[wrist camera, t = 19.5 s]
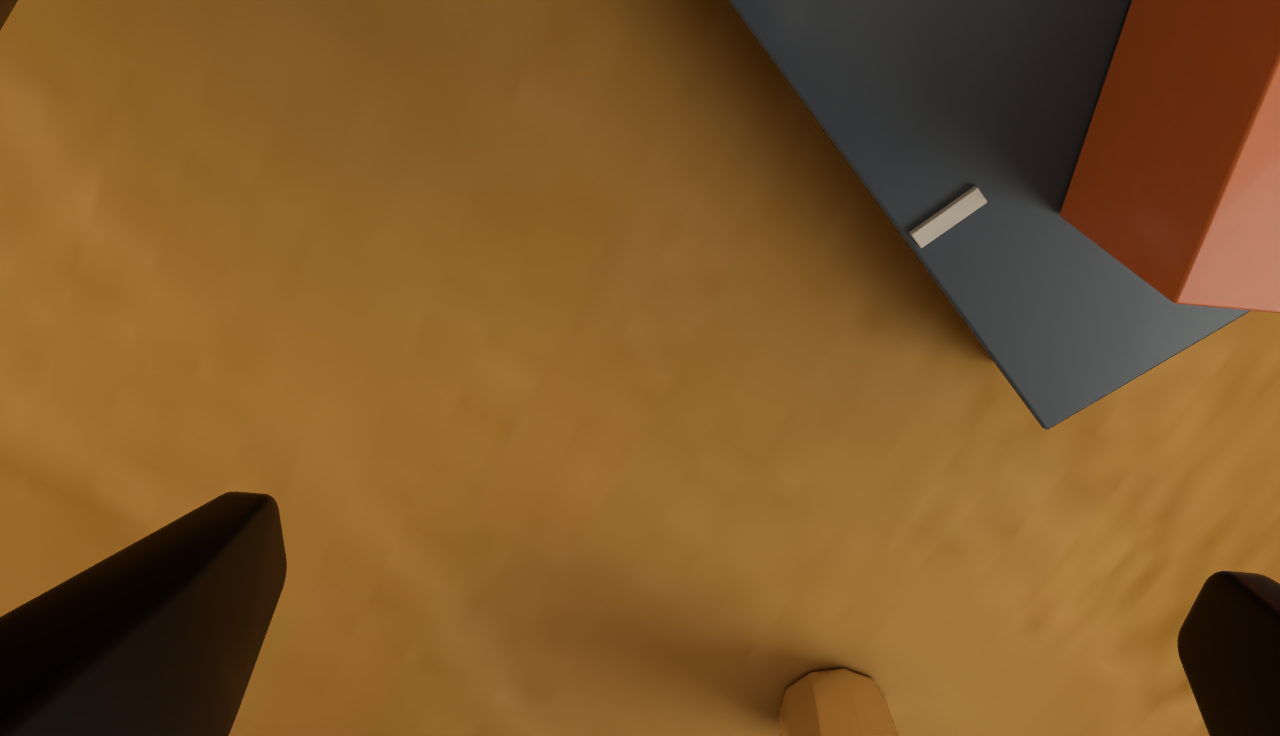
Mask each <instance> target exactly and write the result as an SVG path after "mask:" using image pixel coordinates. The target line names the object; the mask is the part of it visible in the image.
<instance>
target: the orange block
mask: <svg viewBox="0 0 1280 736" xmlns="http://www.w3.org/2000/svg"><path fill="white" fill-rule="evenodd" d="M1060 217H1061V218H1063V219H1064V220H1065V221H1067V222H1068V223H1069V224H1071V225H1072V226H1073V227H1075V228H1076V229H1077V230H1079V231H1080V232H1081V233H1082V234H1084V235H1085V236H1086V237H1088V238H1089V239H1090V240H1092V241H1093V242H1094V243H1096V244H1097V245H1098V246H1099V247H1101V248H1102V249H1103V250H1105V251H1106V252H1107V253H1109V254H1110V255H1111V256H1113V257H1114V258H1115V259H1117V260H1118V261H1119V262H1120V263H1122V264H1123V265H1124V266H1126V267H1127V268H1128V269H1130V270H1131V271H1132V272H1134V273H1135V274H1136V275H1137V276H1139V277H1140V278H1141V279H1143V280H1144V281H1145V282H1147V283H1148V284H1149V285H1151V286H1152V287H1153V288H1155V289H1156V290H1157V291H1158V292H1160V293H1161V294H1162V295H1164V296H1165V297H1166V298H1168V299H1169V300H1170V301H1172V302H1173V303H1175V304H1185V305H1196V306H1207V307H1218V308H1229V309H1240V310H1250V311H1261V312H1272V313H1280V0H1132V2H1131V5H1130V8H1129V11H1128V14H1127V17H1126V20H1125V23H1124V26H1123V28H1122V31H1121V34H1120V37H1119V40H1118V43H1117V46H1116V49H1115V52H1114V55H1113V58H1112V61H1111V64H1110V67H1109V70H1108V73H1107V76H1106V79H1105V82H1104V85H1103V88H1102V91H1101V94H1100V97H1099V100H1098V103H1097V105H1096V108H1095V111H1094V114H1093V117H1092V120H1091V123H1090V126H1089V129H1088V132H1087V135H1086V138H1085V141H1084V144H1083V147H1082V150H1081V153H1080V156H1079V159H1078V162H1077V165H1076V168H1075V171H1074V174H1073V177H1072V180H1071V182H1070V185H1069V188H1068V191H1067V194H1066V197H1065V200H1064V203H1063V206H1062V209H1061V212H1060Z"/></svg>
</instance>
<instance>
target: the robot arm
mask: <svg viewBox="0 0 1280 736" xmlns="http://www.w3.org/2000/svg"><path fill="white" fill-rule="evenodd" d="M17 1H18V0H0V30H1V28H2V26H3V25H4V23H5V21H6V20H7V18H8V16H9V15H10V13H11V11H12V9H13V8H14V6H15V4H16V3H17ZM286 568H287V562H286V554H285V548H284V541H283V535H282V528H281V521H280V515H279V509H278V505H277V503H276V501H275V499H274V498H273V497H271V496H270V495H268V494H259V493H247V492H228V493H225V494H223V495H221V496H219V497H217V498H215V499H213V500H212V501H210V502H208V503H206V504H204V505H203V506H201V507H199V508H197V509H195V510H193V511H192V512H190V513H188V514H186V515H184V516H183V517H181V518H179V519H177V520H175V521H174V522H172V523H170V524H168V525H166V526H165V527H163V528H161V529H159V530H157V531H155V532H154V533H152V534H150V535H148V536H146V537H145V538H143V539H141V540H139V541H137V542H136V543H134V544H132V545H130V546H128V547H126V548H125V549H123V550H121V551H119V552H117V553H116V554H114V555H112V556H110V557H108V558H107V559H105V560H103V561H101V562H99V563H97V564H96V565H94V566H92V567H90V568H88V569H87V570H85V571H83V572H81V573H79V574H78V575H76V576H74V577H72V578H70V579H69V580H67V581H65V582H63V583H61V584H59V585H58V586H56V587H54V588H52V589H50V590H49V591H47V592H45V593H43V594H41V595H40V596H38V597H36V598H34V599H32V600H30V601H29V602H27V603H25V604H23V605H21V606H20V607H18V608H16V609H14V610H12V611H11V612H9V613H7V614H5V615H3V616H2V617H0V736H229V733H230V731H231V728H232V726H233V723H234V721H235V718H236V715H237V713H238V710H239V708H240V705H241V702H242V699H243V697H244V694H245V691H246V688H247V686H248V683H249V680H250V677H251V674H252V672H253V669H254V666H255V663H256V661H257V658H258V655H259V652H260V650H261V647H262V644H263V641H264V639H265V636H266V633H267V630H268V628H269V625H270V622H271V619H272V616H273V614H274V611H275V608H276V605H277V603H278V600H279V597H280V594H281V592H282V589H283V586H284V582H285V577H286ZM1178 652H1179V657H1180V660H1181V663H1182V665H1183V668H1184V671H1185V673H1186V676H1187V678H1188V681H1189V684H1190V686H1191V689H1192V691H1193V694H1194V697H1195V699H1196V702H1197V704H1198V707H1199V710H1200V712H1201V715H1202V717H1203V720H1204V722H1205V725H1206V728H1207V730H1208V733H1209V735H1210V736H1280V584H1279V583H1278V582H1276V581H1274V580H1272V579H1271V578H1268V577H1266V576H1264V575H1260V574H1255V573H1244V572H1232V571H1220V572H1216V573H1214V574H1213V575H1211V576H1210V577H1209V578H1208V579H1207V580H1206V582H1205V583H1204V585H1203V587H1202V589H1201V591H1200V593H1199V594H1198V596H1197V598H1196V600H1195V602H1194V604H1193V606H1192V608H1191V610H1190V611H1189V613H1188V615H1187V617H1186V619H1185V621H1184V623H1183V625H1182V627H1181V629H1180V631H1179V635H1178Z"/></svg>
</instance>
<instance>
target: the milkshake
mask: <svg viewBox="0 0 1280 736" xmlns="http://www.w3.org/2000/svg"><path fill="white" fill-rule="evenodd" d="M779 723H780V736H899V734H898V731H897V729H896V726H895V723H894V721H893V718H892V715H891V713H890V710H889V707H888V705H887V703H886V700H885V699H884V697H883V695H882V694H881V692H880V690H879V689H878V687H877V685H876V684H875V682H874V680H873V679H871V678H868V677H865V676H863V675H860V674H857V673H855V672H852V671H849V670H847V669H836V670H827V671H818V672H811V673H809V674H808V675H806V676H805V677H803V678H802V679H800V680H799V681H797V682H796V683H794V684H793V685H791V686H790V687H788V688H787V689H786V691H785V694H784V698H783V701H782V704H781V708H780V711H779Z"/></svg>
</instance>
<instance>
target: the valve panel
mask: <svg viewBox="0 0 1280 736" xmlns="http://www.w3.org/2000/svg"><path fill="white" fill-rule="evenodd" d="M728 1H729V3H730V4H731V6H732V7H733V8H734V10H735V11H736V12H737V14H738V15H739V16H740V18H741V19H742V20H743V22H744V23H745V25H746V26H747V27H748V29H749V30H750V31H751V33H752V34H753V35H754V37H755V38H756V39H757V41H758V42H759V44H760V45H761V46H762V48H763V49H764V50H765V52H766V53H767V54H768V56H769V57H770V59H771V60H772V61H773V63H774V64H775V65H776V67H777V68H778V69H779V71H780V72H781V73H782V75H783V76H784V78H785V79H786V80H787V82H788V83H789V84H790V86H791V87H792V88H793V90H794V91H795V92H796V94H797V95H798V97H799V98H800V99H801V101H802V102H803V103H804V105H805V106H806V107H807V109H808V110H809V111H810V113H811V114H812V116H813V117H814V118H815V120H816V121H817V122H818V124H819V125H820V126H821V128H822V129H823V131H824V132H825V133H826V135H827V136H828V137H829V139H830V140H831V141H832V143H833V144H834V145H835V147H836V148H837V150H838V151H839V152H840V154H841V155H842V156H843V158H844V159H845V160H846V162H847V163H848V164H849V166H850V167H851V169H852V170H853V171H854V173H855V174H856V175H857V177H858V178H859V179H860V181H861V182H862V183H863V185H864V186H865V188H866V189H867V190H868V192H869V193H870V194H871V196H872V197H873V198H874V200H875V201H876V203H877V204H878V205H879V207H880V208H881V209H882V211H883V212H884V213H885V215H886V216H887V217H888V219H889V220H890V222H891V223H892V224H893V226H894V227H895V228H896V230H897V231H898V232H899V234H900V235H901V236H902V238H903V239H904V241H905V242H906V243H907V245H908V246H909V247H910V249H911V250H912V251H913V253H914V254H915V255H916V257H917V258H918V260H919V261H920V262H921V264H922V265H923V266H924V268H925V269H926V270H927V272H928V273H929V275H930V276H931V277H932V279H933V280H934V281H935V283H936V284H937V285H938V287H939V288H940V289H941V291H942V292H943V294H944V295H945V296H946V298H947V299H948V300H949V302H950V303H951V304H952V306H953V307H954V308H955V310H956V311H957V313H958V314H959V315H960V317H961V318H962V319H963V321H964V322H965V323H966V325H967V326H968V328H969V329H970V330H971V332H972V333H973V334H974V336H975V337H976V338H977V340H978V341H979V342H980V344H981V345H982V347H983V348H984V349H985V351H986V352H987V353H988V355H989V356H990V357H991V359H992V360H993V361H994V363H995V364H996V366H997V367H998V368H999V370H1000V371H1001V372H1002V374H1003V375H1004V376H1005V378H1006V379H1007V380H1008V382H1009V383H1010V384H1011V386H1012V387H1013V389H1014V390H1015V391H1016V393H1017V394H1018V395H1019V397H1020V398H1021V399H1022V401H1023V402H1024V403H1025V405H1026V406H1027V407H1028V409H1029V410H1030V412H1031V413H1032V414H1033V416H1034V417H1035V418H1036V420H1037V421H1038V422H1039V424H1040V425H1041V426H1042V428H1044V429H1046V430H1047V429H1050V428H1051V427H1053V426H1055V425H1057V424H1058V423H1060V422H1062V421H1063V420H1065V419H1067V418H1069V417H1070V416H1072V415H1074V414H1075V413H1077V412H1079V411H1080V410H1082V409H1084V408H1086V407H1087V406H1089V405H1091V404H1092V403H1094V402H1096V401H1098V400H1099V399H1101V398H1103V397H1104V396H1106V395H1108V394H1110V393H1111V392H1113V391H1115V390H1116V389H1118V388H1120V387H1121V386H1123V385H1125V384H1127V383H1128V382H1130V381H1132V380H1133V379H1135V378H1137V377H1139V376H1140V375H1142V374H1144V373H1145V372H1147V371H1149V370H1151V369H1152V368H1154V367H1156V366H1157V365H1159V364H1161V363H1162V362H1164V361H1166V360H1168V359H1169V358H1171V357H1173V356H1174V355H1176V354H1178V353H1180V352H1181V351H1183V350H1185V349H1186V348H1188V347H1190V346H1191V345H1193V344H1195V343H1197V342H1198V341H1200V340H1202V339H1203V338H1205V337H1207V336H1209V335H1210V334H1212V333H1214V332H1215V331H1217V330H1219V329H1221V328H1222V327H1224V326H1226V325H1227V324H1229V323H1231V322H1232V321H1234V320H1236V319H1238V318H1239V317H1241V316H1243V315H1244V314H1246V313H1248V312H1250V310H1240V309H1229V308H1218V307H1207V306H1196V305H1185V304H1175V303H1173V302H1172V301H1170V300H1169V299H1168V298H1166V297H1165V296H1164V295H1162V294H1161V293H1160V292H1158V291H1157V290H1156V289H1155V288H1153V287H1152V286H1151V285H1149V284H1148V283H1147V282H1145V281H1144V280H1143V279H1141V278H1140V277H1139V276H1137V275H1136V274H1135V273H1134V272H1132V271H1131V270H1130V269H1128V268H1127V267H1126V266H1124V265H1123V264H1122V263H1120V262H1119V261H1118V260H1117V259H1115V258H1114V257H1113V256H1111V255H1110V254H1109V253H1107V252H1106V251H1105V250H1103V249H1102V248H1101V247H1099V246H1098V245H1097V244H1096V243H1094V242H1093V241H1092V240H1090V239H1089V238H1088V237H1086V236H1085V235H1084V234H1082V233H1081V232H1080V231H1079V230H1077V229H1076V228H1075V227H1073V226H1072V225H1071V224H1069V223H1068V222H1067V221H1065V220H1064V219H1063V218H1061V217H1060V212H1061V209H1062V206H1063V203H1064V200H1065V197H1066V194H1067V191H1068V188H1069V185H1070V182H1071V180H1072V177H1073V174H1074V171H1075V168H1076V165H1077V162H1078V159H1079V156H1080V153H1081V150H1082V147H1083V144H1084V141H1085V138H1086V135H1087V132H1088V129H1089V126H1090V123H1091V120H1092V117H1093V114H1094V111H1095V108H1096V105H1097V103H1098V100H1099V97H1100V94H1101V91H1102V88H1103V85H1104V82H1105V79H1106V76H1107V73H1108V70H1109V67H1110V64H1111V61H1112V58H1113V55H1114V52H1115V49H1116V46H1117V43H1118V40H1119V37H1120V34H1121V31H1122V28H1123V26H1124V23H1125V20H1126V17H1127V14H1128V11H1129V8H1130V5H1131V2H1132V0H728Z"/></svg>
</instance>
